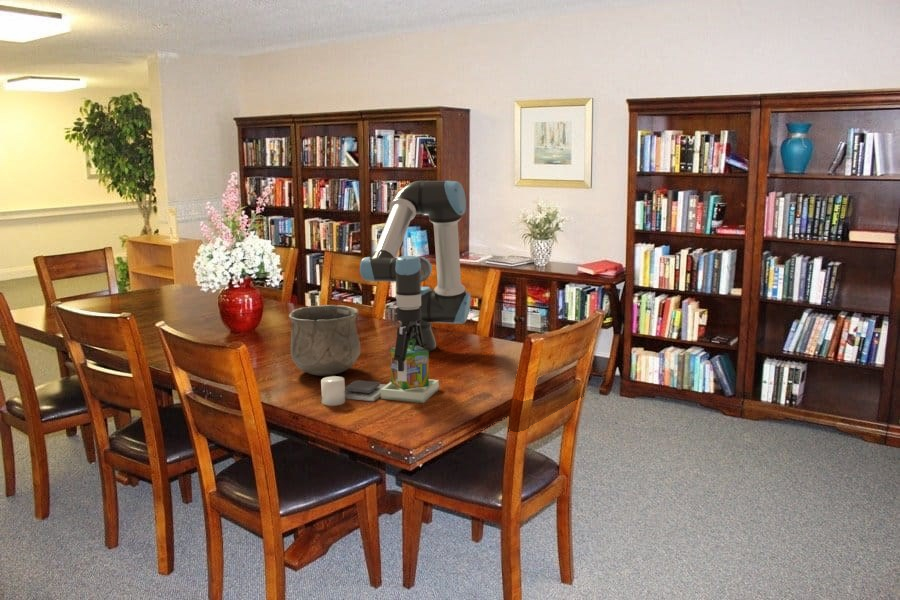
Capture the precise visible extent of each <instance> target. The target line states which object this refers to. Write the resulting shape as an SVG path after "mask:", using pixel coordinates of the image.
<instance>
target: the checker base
mask: <svg viewBox="0 0 900 600" xmlns="http://www.w3.org/2000/svg"><path fill="white" fill-rule="evenodd" d="M353 382H355V380H354V381H351V382H349V383H348V384H347V385H345V400H347V399H349V400H358V401H367V402H368V401H369V402H375V401H376V400H378V399H379V398H381V389H382V388H383V387H384V386H386V385H387V384H385V383H380V386H378V387H377V388H376V389H374V390H373V391H372V392H370V393H364V392H354V391H346V387H347V386H349V385H350V384H352V383H353Z"/></svg>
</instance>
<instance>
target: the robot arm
mask: <svg viewBox="0 0 900 600" xmlns="http://www.w3.org/2000/svg"><path fill="white" fill-rule="evenodd" d="M466 204H467V199H466V193H465V189H464V186H463V185H462V184H461V182H459V181H455V180H416V181H413V182H410V183H408V184H406V185H404V186H403V187H402V188H401V189H400V190H399V191H398V192H397V193H396V194H395V195H394V197H393V198H392V199H391V202H390V204H389V208H388V210H389V214H388V216H387V218H386V220H385V224H384V226H383V229H382V231H381V234H380V236H379V239H378V241H377V243H376V246H375V249H374V250H373V253H372V255H371V256H367V257H366V256H365V257H363V258H362V259H361V261H360V263H359V274H360V277H361V279H362V280H364V281H368V282H370V281H371V282H394V283H395V285H396V286H395V290H396V291H395V293H396V295H395V296H394V298H395V299H396V307H397V308H396V320H397V321H399V324H400V326H398V327H397V330H396V342H395V346H394V347H395V354H394V360H397V373H398V381H405V382H406V381H407V360H405V358H406V353H407V349H408V345H409V341H411V338H413V339H416V344H415V345H419V346H421V347H423V348H425V349H427V350H428V352H429V353H430V352H432V351H434V350H436V348H437V343H436V339H435V336H434V333H433V330H432V323H438V324H439V323H440V324H453V325H455V324H465V323H466V322H467V320H468V318H469V314H470V309H471V302H472V296H471V293H470V292H468V291H467V289H466V286H465V285H464V284H462V281H461V279H462V278H461V277H462V276H461V261H460V258H461V257H460V247H459V246H460V244H459V243H460V241H459V225H458V222H460V220H461V219H462V215H464V214H465V213H466V212H467V211H466V210H467V206H466ZM416 215H428V220H429V222H430V223H432V224H433V234H434V247H435V264H436V276H437V278H436V279H437V284H436V286H435V287H434V289H433V291H432V289H431V287H430V286H422V285H421V284H422V282H424V281H426V280H427V279H428V278H429V277H430V276H431V275H432V272H433V271H432V270H433V268H432V267H433V266H432V263H431V262H430V260H428V258H426V257H422V256H420V257H419V256H417V255H416V256H415V255H402V256H398V253H399V251H400V249H401V245H402V243H403V241H404V238H405V235H406V233H407V230H408V228H409V226H410V223H411V221H412V220H414V219H415V217H416ZM397 256H398V257H397ZM410 345H413V342H412V341H411V342H410Z"/></svg>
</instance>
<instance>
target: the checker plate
mask: <svg viewBox="0 0 900 600" xmlns="http://www.w3.org/2000/svg"><path fill="white" fill-rule="evenodd" d="M352 382H353V381H352ZM349 384H350V383H349ZM380 384H381V382H380V381H369V380H362V379H361V380H359V379H356V380H354V382H353V383H352V384H350V385H349V386H347V385H346V386H347V387H346V391H354V392H364V393H370V392H372V391H373V390H374V389H376V388H377V387H378V386H380Z"/></svg>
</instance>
